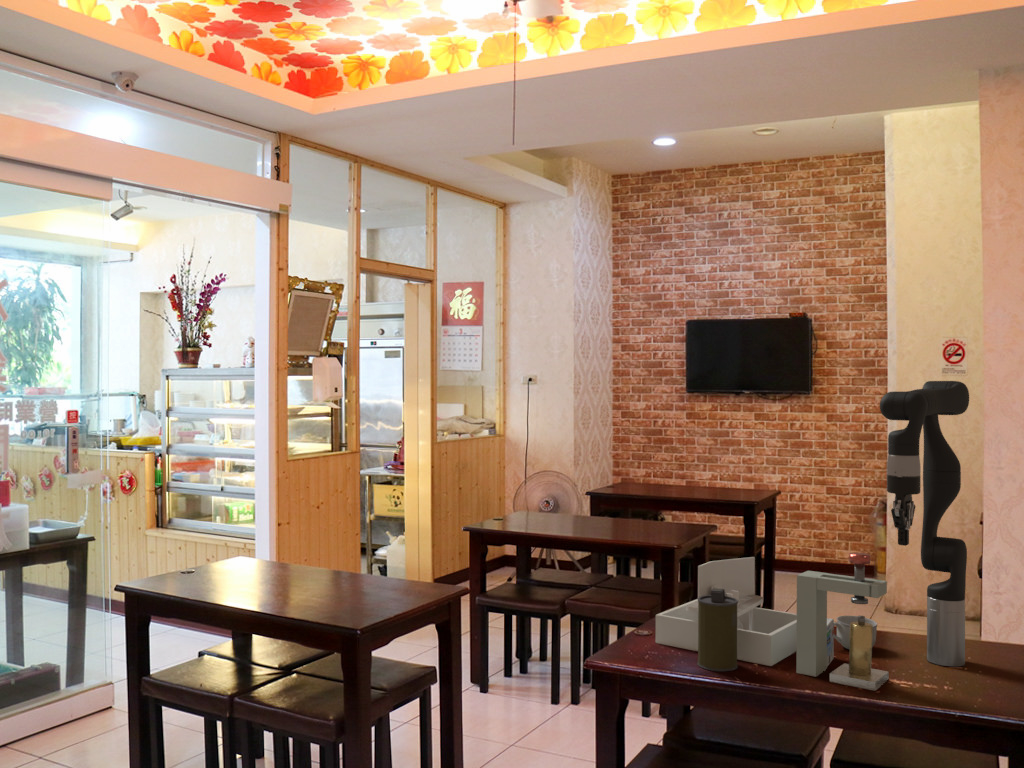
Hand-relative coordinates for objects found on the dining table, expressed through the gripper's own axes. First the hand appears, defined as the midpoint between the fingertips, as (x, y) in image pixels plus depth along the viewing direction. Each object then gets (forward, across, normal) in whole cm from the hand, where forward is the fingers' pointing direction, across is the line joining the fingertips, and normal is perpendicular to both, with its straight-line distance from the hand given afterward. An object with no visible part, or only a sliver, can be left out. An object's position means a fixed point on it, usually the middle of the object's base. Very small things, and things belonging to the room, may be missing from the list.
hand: (903, 544), depth 219 cm
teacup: (+35, -28, -21) cm, 50 cm away
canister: (+35, +10, -44) cm, 57 cm away
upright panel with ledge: (+36, -12, -50) cm, 63 cm away
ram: (+15, 0, -10) cm, 19 cm away
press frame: (+35, 0, -15) cm, 38 cm away
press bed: (+35, 0, -10) cm, 37 cm away
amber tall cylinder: (+33, 0, -10) cm, 35 cm away
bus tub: (+35, -12, -49) cm, 62 cm away
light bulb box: (+35, -10, -24) cm, 44 cm away
